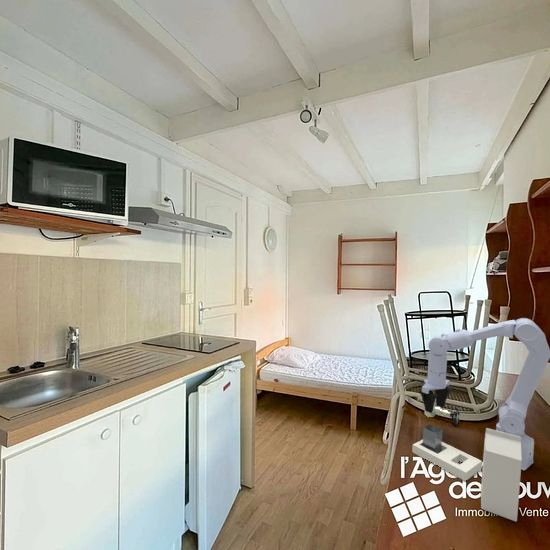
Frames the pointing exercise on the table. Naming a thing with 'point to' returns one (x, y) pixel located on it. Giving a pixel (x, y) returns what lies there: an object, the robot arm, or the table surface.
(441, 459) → the socket plate
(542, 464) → the table surface
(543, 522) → the table surface
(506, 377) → the table surface
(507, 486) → the milk carton
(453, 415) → the valve
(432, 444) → the peg
